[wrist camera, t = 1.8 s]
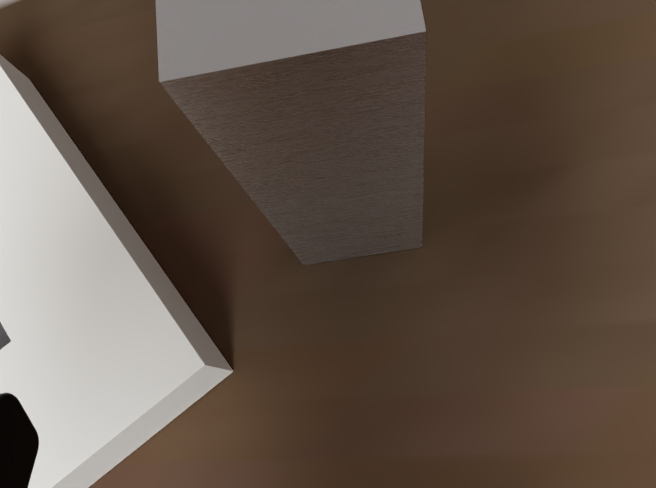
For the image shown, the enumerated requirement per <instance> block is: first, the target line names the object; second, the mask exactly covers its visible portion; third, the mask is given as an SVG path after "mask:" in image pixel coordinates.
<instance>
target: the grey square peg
mask: <svg viewBox="0 0 656 488" xmlns="http://www.w3.org/2000/svg"><path fill="white" fill-rule="evenodd" d="M156 21H157V45H158V68H159V83H160V84H161V85H162V86H163V88H164V89H165V90H166V91H167V93H168V94H169V95H170V97H171V98H172V99H173V100H174V102H175V103H176V104H177V105H178V107H179V108H180V109H181V110H182V112H183V113H184V114H185V116H186V117H187V118H188V119H189V121H190V122H191V123H192V124H193V126H194V127H195V128H196V129H197V131H198V132H199V133H200V135H201V136H202V137H203V138H204V140H205V141H206V142H207V143H208V145H209V146H210V147H211V149H212V150H213V151H214V152H215V154H216V155H217V156H218V157H219V159H220V160H221V161H222V162H223V164H224V165H225V166H226V168H227V169H228V170H229V171H230V173H231V174H232V175H233V176H234V178H235V179H236V180H237V181H238V183H239V184H240V185H241V187H242V188H243V189H244V190H245V192H246V193H247V194H248V195H249V197H250V198H251V199H252V200H253V202H254V203H255V204H256V206H257V207H258V208H259V209H260V211H261V212H262V213H263V214H264V216H265V217H266V218H267V219H268V221H269V222H270V223H271V225H272V226H273V227H274V228H275V230H276V231H277V232H278V233H279V235H280V236H281V237H282V238H283V240H284V241H285V242H286V244H287V245H288V246H289V247H290V249H291V250H292V251H293V252H294V254H295V255H296V256H297V258H298V259H299V260H300V261H301V263H302V264H303V265H310V264H316V263H323V262H329V261H336V260H343V259H349V258H356V257H362V256H369V255H375V254H382V253H388V252H395V251H402V250H408V249H415V248H421V247H422V230H423V175H424V119H425V63H426V28H425V23H424V18H423V13H422V7H421V2H420V0H156Z"/></svg>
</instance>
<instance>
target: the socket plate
mask: <svg viewBox="0 0 656 488" xmlns="http://www.w3.org/2000/svg"><path fill="white" fill-rule="evenodd" d="M232 372H233V370H232V368H231V367H230V366H229V364H228V363H227V361H226V360H225V358H224V357H223V356H222V354H221V353H220V351H219V350H218V348H217V347H216V346H215V344H214V343H213V341H212V340H211V338H210V337H209V335H208V334H207V333H206V331H205V330H204V328H203V327H202V325H201V324H200V323H199V321H198V320H197V318H196V317H195V315H194V314H193V313H192V311H191V310H190V308H189V307H188V305H187V304H186V303H185V301H184V300H183V298H182V297H181V295H180V294H179V293H178V291H177V290H176V288H175V287H174V285H173V284H172V283H171V281H170V280H169V278H168V277H167V275H166V274H165V273H164V271H163V270H162V268H161V267H160V265H159V264H158V263H157V261H156V260H155V258H154V257H153V255H152V254H151V253H150V251H149V250H148V248H147V247H146V245H145V244H144V243H143V241H142V240H141V238H140V237H139V235H138V234H137V232H136V231H135V230H134V228H133V227H132V225H131V224H130V222H129V221H128V220H127V218H126V217H125V215H124V214H123V212H122V211H121V210H120V208H119V207H118V205H117V204H116V202H115V201H114V200H113V198H112V197H111V195H110V194H109V192H108V191H107V190H106V188H105V187H104V185H103V184H102V182H101V181H100V180H99V178H98V177H97V175H96V174H95V172H94V171H93V170H92V168H91V167H90V165H89V164H88V162H87V161H86V160H85V158H84V157H83V155H82V154H81V152H80V151H79V150H78V148H77V147H76V145H75V144H74V142H73V141H72V139H71V138H70V137H69V135H68V134H67V132H66V131H65V129H64V128H63V127H62V125H61V124H60V122H59V121H58V119H57V118H56V117H55V115H54V114H53V112H52V111H51V109H50V108H49V107H48V105H47V104H46V102H45V101H44V99H43V98H42V97H41V95H40V94H39V92H38V91H37V89H36V88H35V87H34V85H33V84H32V82H31V81H30V80H29V79H28V78H27V77H26V76H25V75H24V74H22V73H21V72H20V71H19V70H18V69H17V68H15V67H14V66H13V65H12V64H11V63H10V62H8V61H7V60H6V59H5V58H4V57H3V56H1V55H0V394H1V393H11V394H13V395H14V396H16V397H17V398H18V400H19V401H20V403H21V405H22V407H23V408H24V410H25V412H26V413H27V415H28V417H29V419H30V420H31V422H32V424H33V425H34V427H35V429H36V431H37V433H38V437H39V448H38V453H37V456H36V460H35V463H34V467H33V470H32V474H31V478H30V481H29V485H28V488H88V487H90V486H91V485H92V484H93V483H95V482H96V481H97V480H98V479H100V478H101V477H102V476H103V475H105V474H106V473H107V472H108V471H110V470H111V469H112V468H113V467H115V466H116V465H117V464H118V463H120V462H121V461H122V460H123V459H125V458H126V457H127V456H128V455H130V454H131V453H132V452H133V451H135V450H136V449H137V448H138V447H140V446H141V445H142V444H143V443H145V442H146V441H147V440H148V439H150V438H151V437H152V436H153V435H155V434H156V433H157V432H158V431H160V430H161V429H162V428H163V427H165V426H166V425H167V424H168V423H170V422H171V421H172V420H173V419H175V418H176V417H177V416H178V415H180V414H181V413H182V412H183V411H185V410H186V409H187V408H188V407H190V406H191V405H192V404H193V403H195V402H196V401H197V400H198V399H200V398H201V397H202V396H203V395H205V394H206V393H207V392H208V391H210V390H211V389H212V388H213V387H215V386H216V385H217V384H218V383H220V382H221V381H222V380H223V379H225V378H226V377H227V376H228V375H230V374H231V373H232Z"/></svg>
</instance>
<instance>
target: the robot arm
mask: <svg viewBox="0 0 656 488" xmlns="http://www.w3.org/2000/svg"><path fill="white" fill-rule="evenodd" d="M38 448H39V437H38V433H37V431H36V429H35V427H34V425H33V424H32V422H31V420H30V419H29V417H28V415H27V413H26V412H25V410H24V408H23V407H22V405H21V403H20V401H19V400H18V398H17V397H16V396H14V395H13V394H11V393H1V394H0V488H28V485H29V481H30V478H31V474H32V470H33V467H34V463H35V460H36V456H37V453H38Z"/></svg>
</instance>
